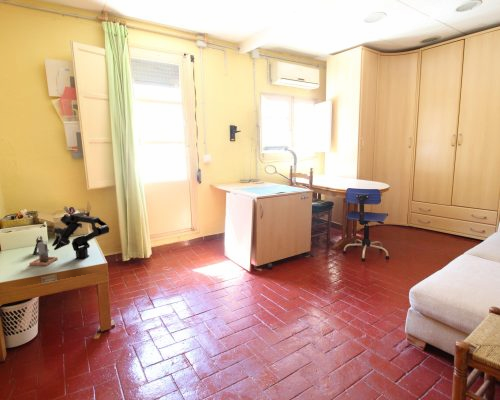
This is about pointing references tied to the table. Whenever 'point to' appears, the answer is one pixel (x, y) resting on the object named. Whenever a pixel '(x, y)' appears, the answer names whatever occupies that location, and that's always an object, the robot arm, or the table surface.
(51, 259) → the tray
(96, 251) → the table surface
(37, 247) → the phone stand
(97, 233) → the robot arm
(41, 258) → the canister
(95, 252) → the table surface
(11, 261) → the table surface
